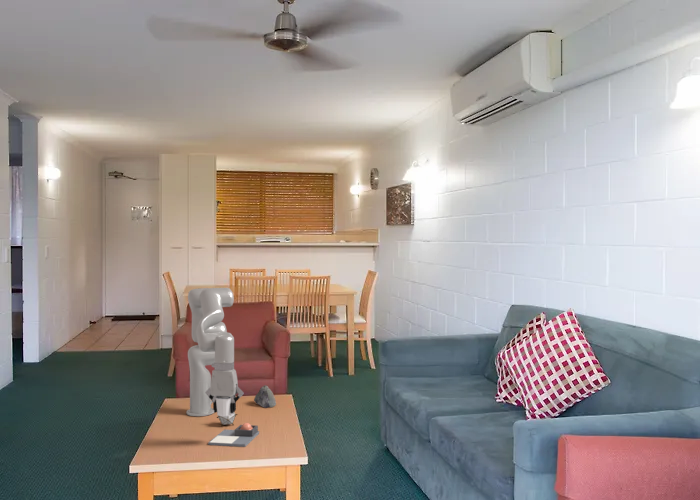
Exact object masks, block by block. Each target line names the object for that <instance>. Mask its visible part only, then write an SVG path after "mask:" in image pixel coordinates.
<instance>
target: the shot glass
mask: <svg viewBox="0 0 700 500" xmlns="http://www.w3.org/2000/svg"><path fill="white" fill-rule="evenodd" d="M231 403H232V401H231V398H230V397H223V396H217V397H216V405H217V412H216V415H217V417H218V416H230V415H232V413H231Z"/></svg>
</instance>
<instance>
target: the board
mask: <svg viewBox="0 0 700 500" xmlns="http://www.w3.org/2000/svg"><path fill="white" fill-rule="evenodd" d="M242 425H243V424H240V425H239V426H237V427H236V428H235V429H226V428H225V429H223V430H222V431H220V432H219V433H218V434H217V435H216V436H214V437H213V438H211V440H209V441H208V444H207V445H208V446H220V447H238V448H246V447H247V446H248V445H249V444H250V443H251V442H252V441H253V440H255V438H257V436H258V435H259V434H260V431H259V426H258V425H253V424H250V425H251V426H252V428H253V429H252V430H240V428H241V426H242Z"/></svg>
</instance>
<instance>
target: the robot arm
mask: <svg viewBox="0 0 700 500" xmlns="http://www.w3.org/2000/svg"><path fill="white" fill-rule="evenodd" d="M234 299H235V297H234V292H233V291H232V289H231V288H229V287H210V288H209V287H201V288H193V289H190V290H189V291H188V294H187V301H188V305H189V308H190V311H191V339H192V341H193V342H194V343H197V345H193V346H190V348H188V350H187V359H188V365H189V367H188V368H189V409H187V410H186V415H187V416H191V417H205V416H210V415H213V414H215V413H216V414H217V405H216V397H217V396H223V397H230V398H231V401H232V403H231V413H234V412H235V413H236V411H237V401H239V399H240V398H241V397H242V396H243V395H244V391H243V390H242V388H241V387H239V385H238V384H239V383H238V382H239V381H238V374H237V371H236V370H237V369H235V337H234V335H232V333H231V332H228V330H227V326H226V324H225V322H223V320H224V317H225V313H224V309H223V308H228V307H229V308H231V307H233V304H234ZM206 366H211V367H212V368H214V369H213V370H212V372H210V371H209V370H208V368H206ZM237 394H238V395H237ZM212 404H213V405H212Z"/></svg>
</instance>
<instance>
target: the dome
mask: <svg viewBox="0 0 700 500" xmlns="http://www.w3.org/2000/svg"><path fill="white" fill-rule="evenodd" d="M241 425H242V426H241V428H240V430H252V429H253V428H252V426H251V425H252V424H251V423H249V422H244V423H242V424H241Z"/></svg>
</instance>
